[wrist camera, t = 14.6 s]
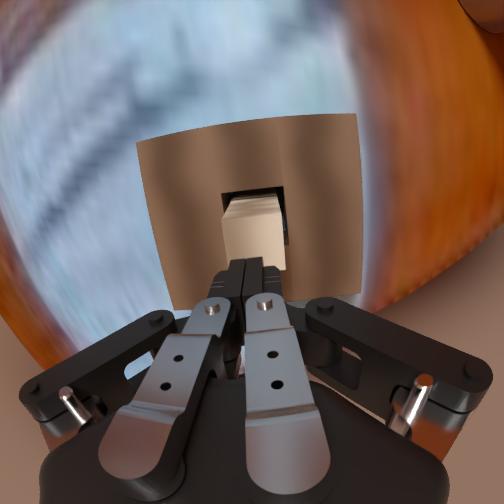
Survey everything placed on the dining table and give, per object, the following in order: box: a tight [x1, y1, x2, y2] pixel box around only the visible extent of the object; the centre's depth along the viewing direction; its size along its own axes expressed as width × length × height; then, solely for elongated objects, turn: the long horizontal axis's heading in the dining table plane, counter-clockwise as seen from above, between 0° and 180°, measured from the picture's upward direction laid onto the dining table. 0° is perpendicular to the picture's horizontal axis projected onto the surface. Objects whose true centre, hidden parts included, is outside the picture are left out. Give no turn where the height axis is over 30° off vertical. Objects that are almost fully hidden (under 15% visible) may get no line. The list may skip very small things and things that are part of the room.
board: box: [136, 114, 363, 310], centre depth 25 cm, size 18×16×4 cm
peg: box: [221, 188, 286, 270], centre depth 22 cm, size 4×4×10 cm
